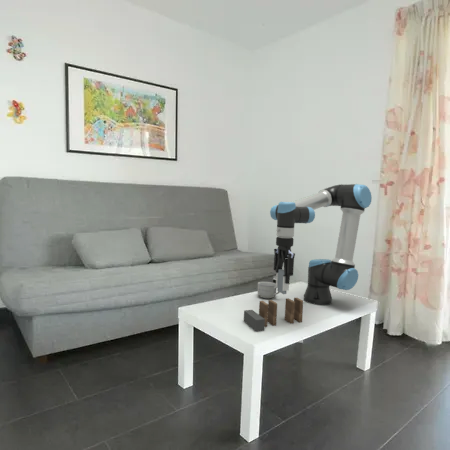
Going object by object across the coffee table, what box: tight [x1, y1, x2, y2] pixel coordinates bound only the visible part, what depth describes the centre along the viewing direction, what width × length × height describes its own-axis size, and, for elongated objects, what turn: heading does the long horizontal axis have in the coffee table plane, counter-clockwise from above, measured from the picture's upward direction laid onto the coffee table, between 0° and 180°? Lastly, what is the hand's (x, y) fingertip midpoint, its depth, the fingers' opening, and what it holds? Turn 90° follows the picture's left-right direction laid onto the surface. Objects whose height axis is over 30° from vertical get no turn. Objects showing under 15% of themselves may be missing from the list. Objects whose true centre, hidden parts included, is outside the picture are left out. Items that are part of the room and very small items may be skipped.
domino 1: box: [258, 300, 268, 328], centre depth 147 cm, size 2×5×10 cm, turn 22°
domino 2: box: [267, 299, 278, 327], centre depth 149 cm, size 2×5×10 cm, turn 22°
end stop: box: [243, 309, 266, 333], centre depth 146 cm, size 4×12×5 cm, turn 22°
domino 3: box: [276, 268, 287, 295], centre depth 149 cm, size 2×5×10 cm, turn 22°
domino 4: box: [284, 298, 295, 324], centre depth 152 cm, size 2×5×10 cm, turn 22°
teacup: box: [256, 281, 281, 300], centre depth 187 cm, size 14×11×8 cm
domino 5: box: [293, 297, 304, 323], centre depth 154 cm, size 2×5×10 cm, turn 22°
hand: (282, 288), depth 150 cm, fingers closed on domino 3, 5 cm apart
